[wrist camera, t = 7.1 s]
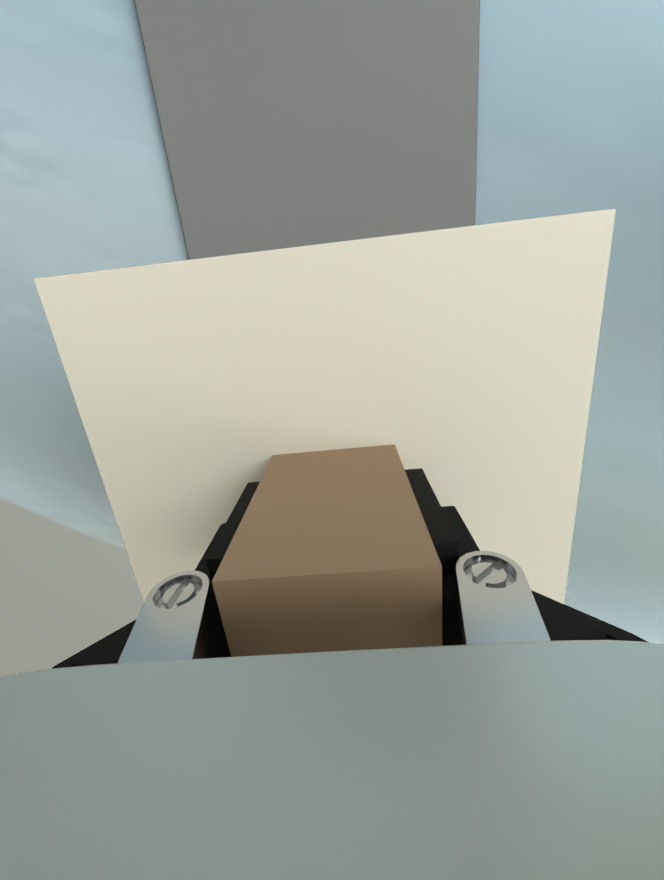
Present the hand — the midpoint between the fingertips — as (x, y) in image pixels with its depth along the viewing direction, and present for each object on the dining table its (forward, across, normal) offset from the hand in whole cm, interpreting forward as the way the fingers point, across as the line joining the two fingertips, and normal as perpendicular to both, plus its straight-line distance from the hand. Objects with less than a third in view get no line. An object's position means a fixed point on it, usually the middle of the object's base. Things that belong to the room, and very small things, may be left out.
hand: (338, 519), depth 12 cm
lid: (+2, 0, 0) cm, 2 cm away
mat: (+16, 0, -19) cm, 25 cm away
